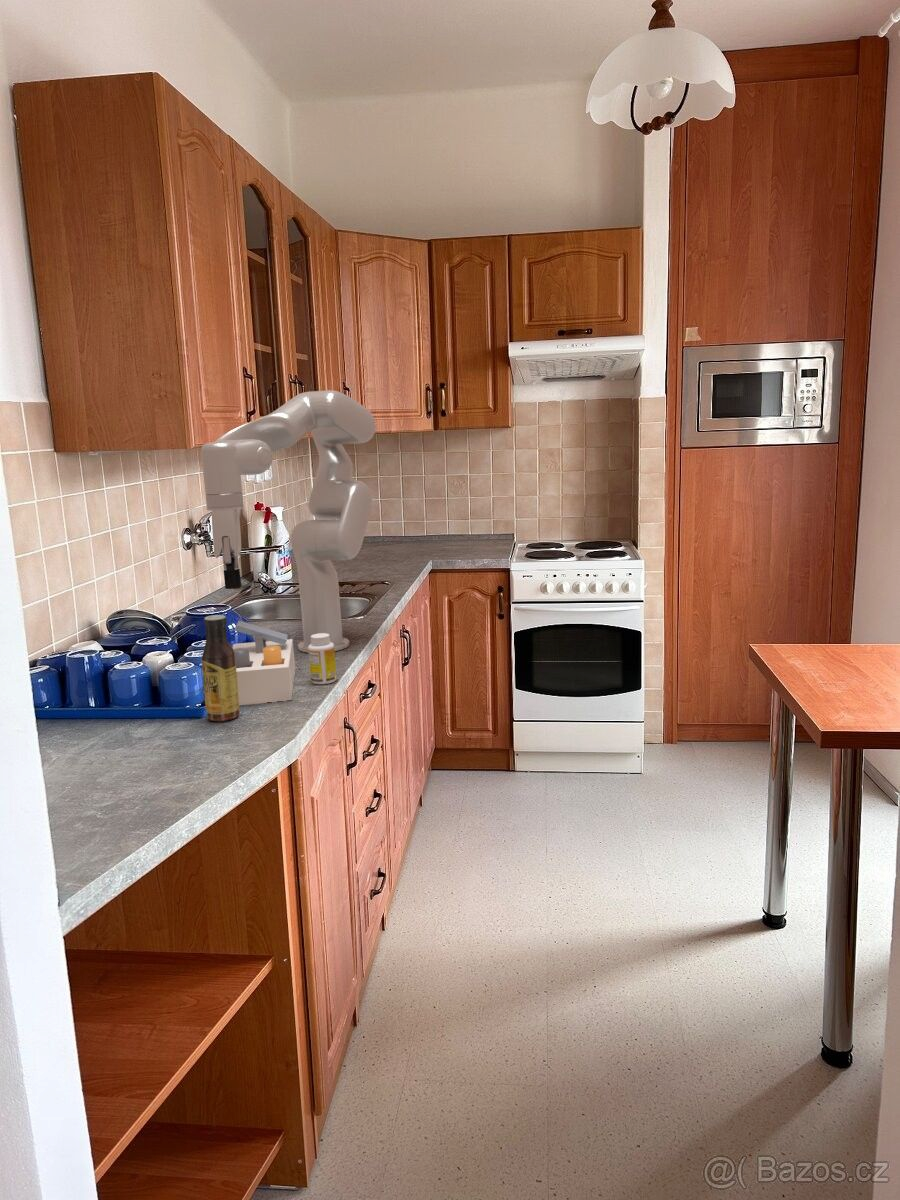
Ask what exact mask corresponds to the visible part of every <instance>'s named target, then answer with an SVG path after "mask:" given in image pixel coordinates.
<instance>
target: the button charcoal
mask: <svg viewBox="0 0 900 1200" xmlns="http://www.w3.org/2000/svg"><path fill="white" fill-rule="evenodd" d="M234 655H235V664H236V668H244V667H250V657H249V649H247V648H240V649H234Z"/></svg>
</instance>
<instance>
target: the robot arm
mask: <svg viewBox="0 0 900 1200" xmlns="http://www.w3.org/2000/svg"><path fill="white" fill-rule="evenodd" d="M375 433H376V421H375V417H374V416H373V413H372V412H371V411H370V410H369V409H368V408H366V407H365V406H364V405H363V404H361V403H359V402H358V401H356V400H355V399H353V398H351V396H349V395H346V394H344V393H342V392H340V391H338V390H332V389H329V390H328V389H327V390H315V391H313V390H312V391H305V392H301V393H299V394H297V395H295V396H293V397H292V398H291V399H289V400H288V401H287V402H285V403H284V404H282V405H281V406H279V407H278V408H276V409H275V410H274V411H272V412H271V413H269V414H267V415H264V416H262V417H258V418H256V419H254V420H252V421H250V422H247V423H243V424H242V425H239V426H237V427H235V428H233V429H231V430H229V431H227V432H225V433H224V434H223V435H222V436H220V437H218V438H217V439H216V440H214V442H207V443H203V445H202V446H201V449H200V457H201V465H202V472H203V473H202V474H203V483H204V493H205V506H206V511H209V512H211V527H212V528H211V531H212V541H213V542H212V543H213V556H214V557H215V558H216V559H218V558H219V557H220V556H221V555H222V556H221V557H222V564H223V578H224V588H225V589H226V590H234V589H235V590H236V589H240V588H241V587H242V579H241V569H240V566H239V554H240V553H241V551H242V537H241V536H242V535H241V523H240V513H239V512H240V511H239V509H244V506H245V505H244V497H243V496H244V495H243V485H242V476H254V475H255V476H257V475H261V474H263V473H266V471H268V470H269V469H270V467H271V466H272V463H273V461H274V456H273V455H274V454H273V453H274V452H277V451H281V450H286V449H288V448H290V447H292V446H294V445H295V444H297V442H299V441H300V440H302V439H303V438H304V437H305V436H307V435H308V434H311V437H312V439H313V442H314V444H315V447H316V451H317V454H318V459H319V462H318V467H317V471H316V475H315V478H314V481H313V485H312V487H311V491H310V494H309V499H308V509H309V512H310V513H311V515H312V516H313V517H315V518H317V519H307V520H303V521H301V522H299V523H297V524H296V525H295V526H294V527H293V528H292V531H291V533H290V545H291V549H292V553H293V556H294V559H295V564H296V569H297V578H298V585H299V586H298V587H299V588H298V589H299V599H300V609H301V621H302V622H301V624H302V634H303V641H300V642H299V643H298V644H297V648H298V650H299V651H300V652H303V653H307V654H308V646H309V645H310V644H312V643H311V636H312V635H314V634H319V633H327V634H329V636H330V642H332V643H333V644H334V650H335V652H338V651H340V650H344V649H347V648H348V647H349V646H350V639H348V638H346V637H343V636H344V635H343V626H342V625H343V624H342V616H341V615H342V613H341V612H342V611H341V602H340V601H341V599H340V588H339V586H340V585H339V576H338V572H337V570H336V568H335V566H334V563H332V561H333V560H334V561H349V560H352V559H354V558H356V557H357V556H358V554H359V552H360V550H361V549H362V546H363V542H364V538H365V535H366V531H367V529H368V525H369V521H370V517H371V513H372V508H373V497H372V495H373V494H372V491H371V489H370V487H369V486H368V485H367V484H366V483H365V482H363V481H361V480H355V479H352V476H353V473H354V467H353V462H352V459H351V457H350V456H349V454H348V453H347V451H346V449H345V448H344V446H343V445H349V444H351V445H352V444H353V445H354V444H364V443H367V442H369V441H370V440H372V438H373V437H374V435H375Z"/></svg>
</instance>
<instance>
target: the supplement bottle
mask: <svg viewBox="0 0 900 1200" xmlns="http://www.w3.org/2000/svg"><path fill="white" fill-rule="evenodd" d="M311 643H312V644H310V645H309V646H308V653H307V654H308V661H309V662H308V663H309V664H308V665H309V673H310V675H309V676H310V681H311V683H312V684H315V685H328V684H332V683H335V682H336V681H337V678H338V676H337V675H338V674H337V663H336V653H335V652H336V651H335V650H334V644H333V643H332V642H330V636H329V634H327V633H319V634H314V635H312V636H311Z"/></svg>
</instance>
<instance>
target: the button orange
mask: <svg viewBox="0 0 900 1200" xmlns="http://www.w3.org/2000/svg"><path fill="white" fill-rule="evenodd" d="M263 657H264V666H267V665H279V664H282V656H281V647H280V646H267V647H264V648H263Z"/></svg>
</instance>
